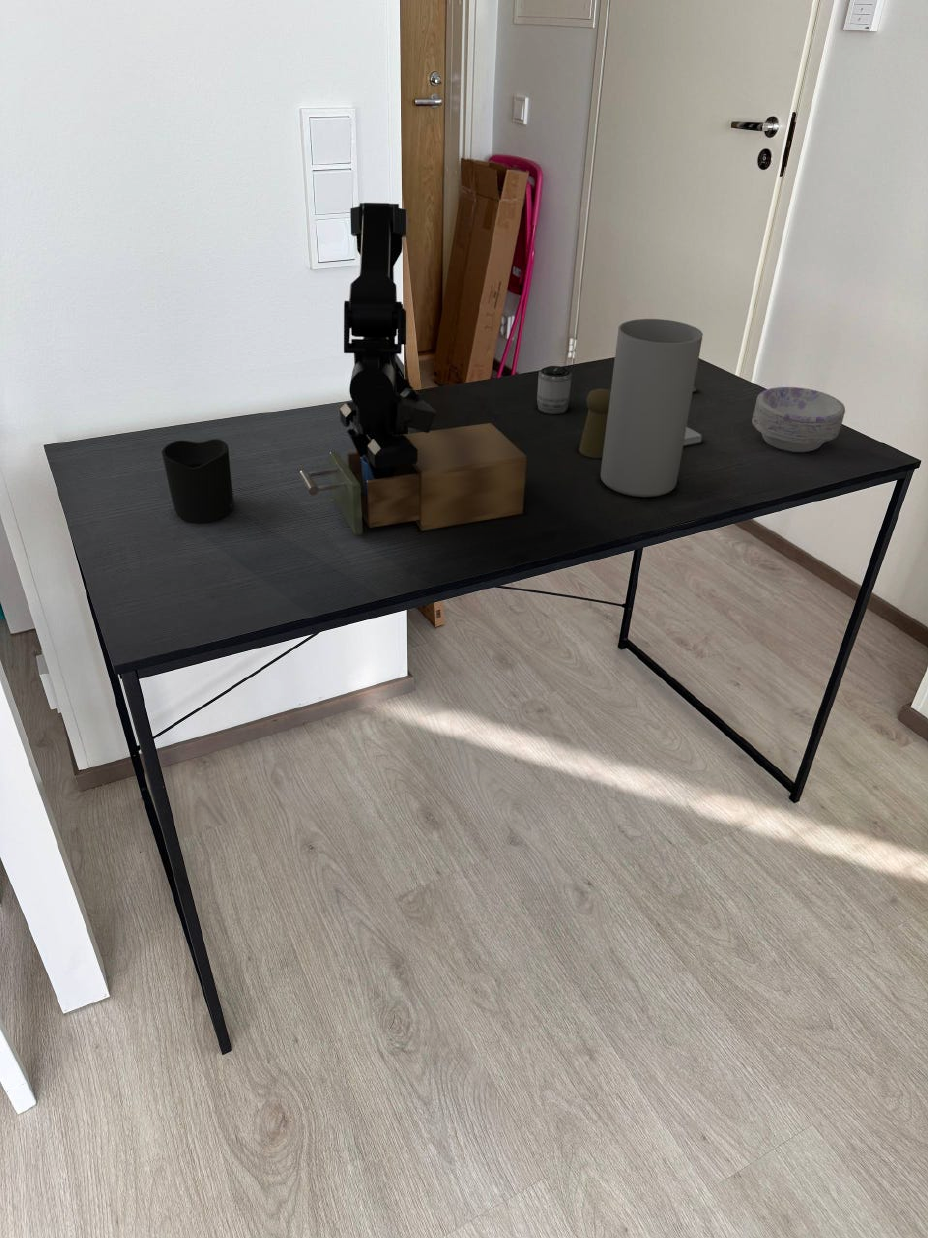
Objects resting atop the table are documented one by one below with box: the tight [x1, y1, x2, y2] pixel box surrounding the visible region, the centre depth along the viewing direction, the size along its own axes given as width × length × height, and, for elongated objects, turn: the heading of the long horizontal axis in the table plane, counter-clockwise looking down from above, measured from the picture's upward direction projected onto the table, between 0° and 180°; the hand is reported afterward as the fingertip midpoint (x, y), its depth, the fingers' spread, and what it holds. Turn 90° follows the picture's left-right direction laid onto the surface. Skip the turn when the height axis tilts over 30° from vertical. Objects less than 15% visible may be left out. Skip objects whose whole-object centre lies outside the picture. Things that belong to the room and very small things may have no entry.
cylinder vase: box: [600, 318, 704, 498], centre depth 142 cm, size 12×12×25 cm
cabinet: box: [397, 422, 527, 532], centre depth 139 cm, size 17×14×10 cm
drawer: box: [298, 450, 420, 536], centre depth 134 cm, size 21×12×8 cm, turn 112°
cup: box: [361, 453, 396, 497], centre depth 134 cm, size 5×5×6 cm
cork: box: [578, 388, 611, 459], centre depth 156 cm, size 6×6×11 cm
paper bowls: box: [751, 386, 846, 453], centre depth 162 cm, size 15×15×8 cm
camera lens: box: [536, 365, 572, 415], centre depth 173 cm, size 6×6×8 cm
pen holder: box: [161, 438, 234, 524], centre depth 134 cm, size 9×9×10 cm
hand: (378, 486), depth 135 cm, fingers closed on cup, 5 cm apart
